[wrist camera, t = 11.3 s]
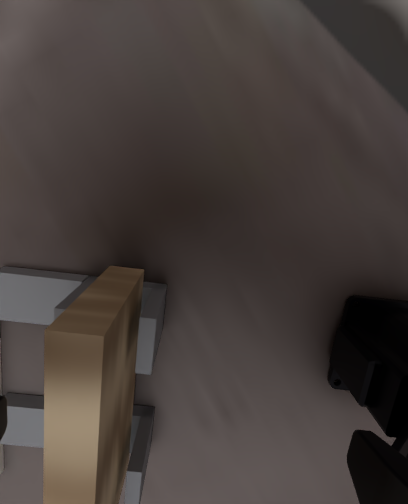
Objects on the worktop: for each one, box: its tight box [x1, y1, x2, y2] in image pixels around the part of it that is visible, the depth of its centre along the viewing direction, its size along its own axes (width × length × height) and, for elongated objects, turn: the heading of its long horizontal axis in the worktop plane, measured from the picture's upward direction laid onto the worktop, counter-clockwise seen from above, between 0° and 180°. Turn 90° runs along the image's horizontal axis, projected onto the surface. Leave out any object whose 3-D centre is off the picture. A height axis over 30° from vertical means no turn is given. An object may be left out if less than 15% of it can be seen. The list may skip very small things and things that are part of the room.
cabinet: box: [0, 266, 167, 504], centre depth 19 cm, size 15×16×5 cm
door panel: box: [43, 266, 144, 504], centre depth 16 cm, size 14×2×8 cm, turn 173°
